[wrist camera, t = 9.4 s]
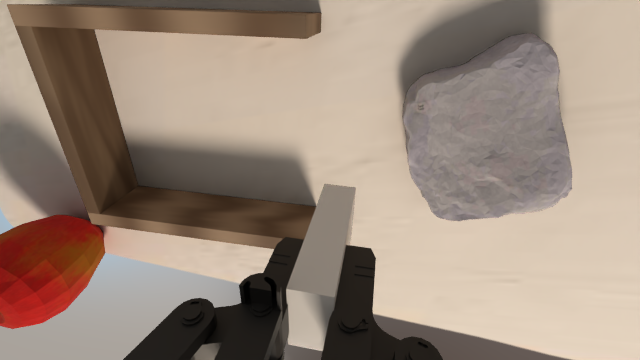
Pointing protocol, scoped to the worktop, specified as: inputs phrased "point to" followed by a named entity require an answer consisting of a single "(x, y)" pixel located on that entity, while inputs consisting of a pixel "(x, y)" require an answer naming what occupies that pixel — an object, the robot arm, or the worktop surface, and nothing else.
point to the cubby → (106, 132)
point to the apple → (46, 267)
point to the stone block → (490, 133)
